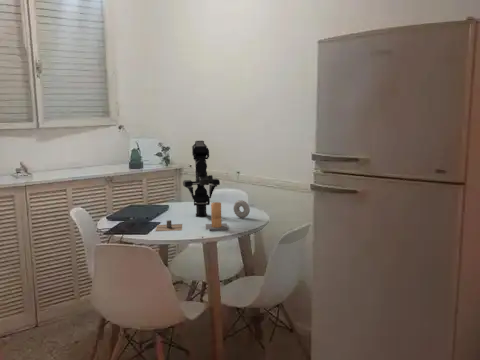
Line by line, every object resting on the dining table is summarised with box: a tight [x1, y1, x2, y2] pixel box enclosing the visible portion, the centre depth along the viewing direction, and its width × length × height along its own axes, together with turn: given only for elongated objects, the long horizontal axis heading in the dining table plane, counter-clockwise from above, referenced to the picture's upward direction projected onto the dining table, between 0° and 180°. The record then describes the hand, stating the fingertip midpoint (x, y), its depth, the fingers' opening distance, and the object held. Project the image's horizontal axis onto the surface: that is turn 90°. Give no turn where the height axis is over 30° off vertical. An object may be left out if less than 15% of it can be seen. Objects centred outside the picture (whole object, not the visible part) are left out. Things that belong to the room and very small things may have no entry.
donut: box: [233, 199, 251, 219], centre depth 274 cm, size 10×4×10 cm, turn 59°
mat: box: [205, 223, 229, 232], centre depth 252 cm, size 11×11×1 cm
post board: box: [155, 219, 183, 232], centre depth 251 cm, size 13×13×4 cm
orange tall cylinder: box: [210, 201, 223, 228], centre depth 251 cm, size 5×5×12 cm
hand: (201, 198), depth 263 cm, fingers open, 9 cm apart
